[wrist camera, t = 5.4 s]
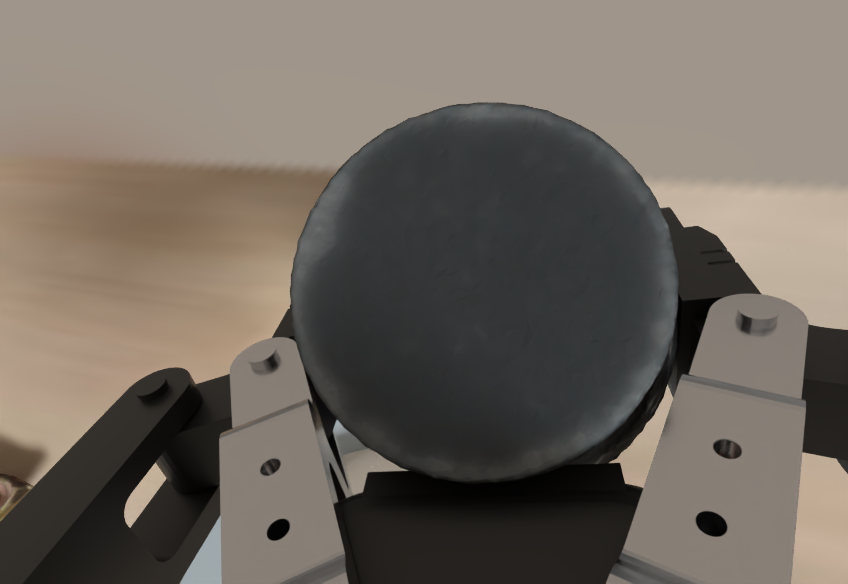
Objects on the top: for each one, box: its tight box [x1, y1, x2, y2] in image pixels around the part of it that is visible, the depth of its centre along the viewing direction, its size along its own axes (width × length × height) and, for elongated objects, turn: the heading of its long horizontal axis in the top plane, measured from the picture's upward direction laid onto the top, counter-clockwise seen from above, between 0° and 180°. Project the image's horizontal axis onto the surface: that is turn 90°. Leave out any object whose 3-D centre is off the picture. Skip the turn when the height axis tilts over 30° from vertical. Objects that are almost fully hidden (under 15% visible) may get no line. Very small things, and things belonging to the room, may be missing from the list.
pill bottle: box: [290, 103, 679, 485], centre depth 11 cm, size 6×6×11 cm
